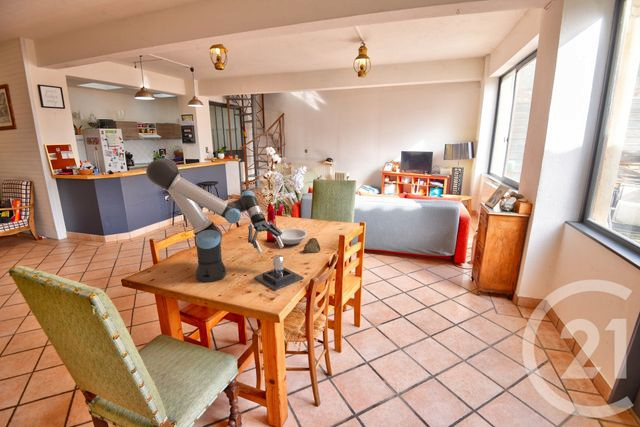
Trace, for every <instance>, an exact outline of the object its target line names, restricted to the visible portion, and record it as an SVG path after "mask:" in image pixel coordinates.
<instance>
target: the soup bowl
mask: <svg viewBox="0 0 640 427" xmlns="http://www.w3.org/2000/svg"><path fill="white" fill-rule="evenodd" d="M279 230H280V231H281V232H282V235H281V238H282V243H283V245H296V244H299V243H301V242H302V241H303V240H304V239H305V238H306V237H308V231H306V230H304V229H301V228H281V229H279ZM271 235H272V238H274V239H276V238H277V237H276V236H274V235H273V234H271Z"/></svg>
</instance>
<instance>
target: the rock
mask: <svg viewBox="0 0 640 427" xmlns="http://www.w3.org/2000/svg"><path fill="white" fill-rule="evenodd" d="M320 250H321V246H320V243H319V242H318V240H317V238H316V237H311V238H309V239H308V240H307V242H306V243H305V245H304V247H303V249H302V251H303V252H304V253H319V251H320ZM320 252H321V251H320Z"/></svg>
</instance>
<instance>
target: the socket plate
mask: <svg viewBox="0 0 640 427" xmlns="http://www.w3.org/2000/svg"><path fill="white" fill-rule="evenodd" d="M254 279H255V280H256V281H258V282H259V283H262V284H263V285H264V286H267V287H270V288H269V289H271V290H272V291H274V292H275V291H278V290H281V289H283V288H285V287H288V286H291V285H292V284H295V283H297V281H298V282H300V281H302V280H304V279H305V278H304V276H302V275H301V274H298V273H296V272H294V271H292V270H290V269H288V268H287V267H284V276H283V277H281V278H278V279H276V278H274V268H273V269H270V270H266V271H265V272H262V273H261V274H258V275H255V276H254ZM299 280H300V281H299Z"/></svg>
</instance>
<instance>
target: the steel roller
mask: <svg viewBox="0 0 640 427" xmlns="http://www.w3.org/2000/svg"><path fill="white" fill-rule="evenodd" d="M272 259H273V269H274V278H276V279H278V278H281V277H283V276H284V268H285V266H284V255H281V254H277V255H276V254H275V255H274V256H272Z"/></svg>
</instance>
